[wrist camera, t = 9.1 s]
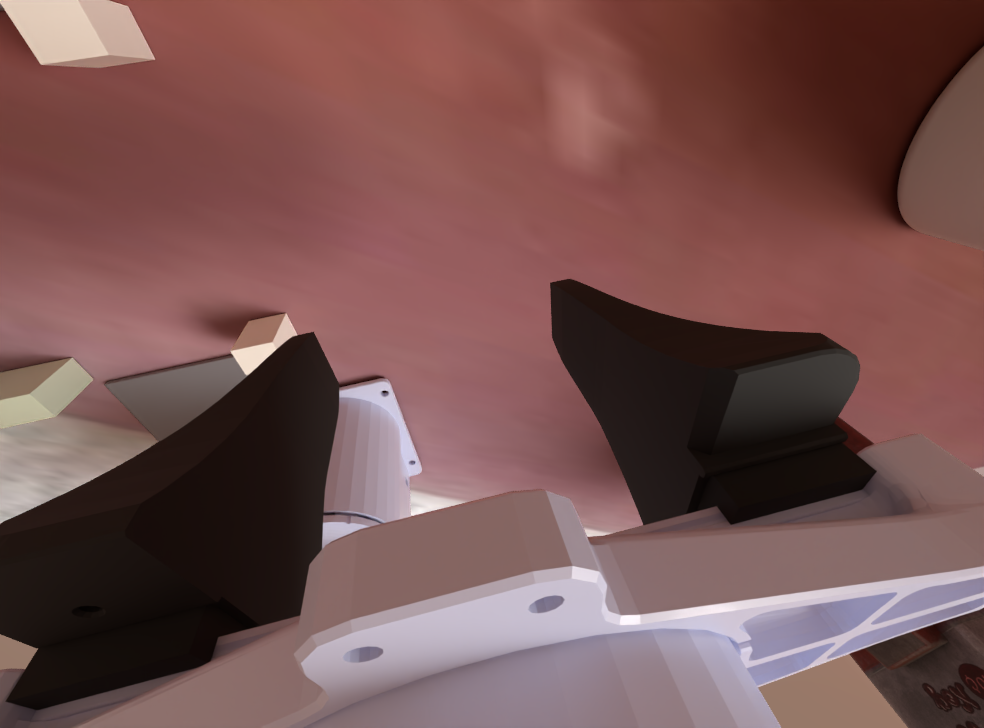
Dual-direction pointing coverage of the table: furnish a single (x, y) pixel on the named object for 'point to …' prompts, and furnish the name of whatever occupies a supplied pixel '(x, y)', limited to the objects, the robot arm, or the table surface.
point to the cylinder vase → (949, 163)
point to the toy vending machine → (928, 662)
